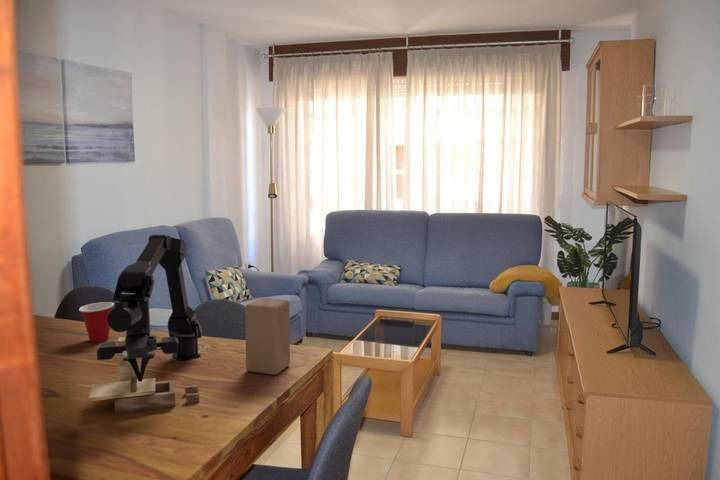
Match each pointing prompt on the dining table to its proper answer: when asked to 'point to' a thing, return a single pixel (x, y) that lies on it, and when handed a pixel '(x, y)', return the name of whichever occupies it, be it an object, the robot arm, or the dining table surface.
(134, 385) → the lid
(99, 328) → the plastic cup
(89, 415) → the dining table surface
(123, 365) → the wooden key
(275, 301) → the wooden block
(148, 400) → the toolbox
